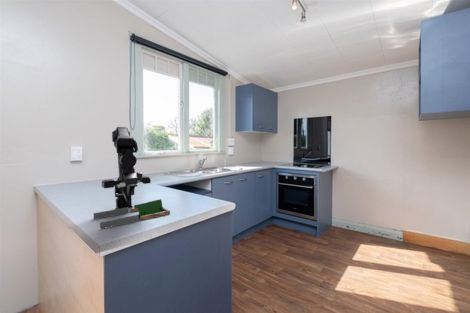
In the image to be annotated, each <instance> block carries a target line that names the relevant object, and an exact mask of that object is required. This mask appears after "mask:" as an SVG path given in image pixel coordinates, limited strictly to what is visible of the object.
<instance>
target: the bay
mask: <svg viewBox="0 0 470 313" xmlns="http://www.w3.org/2000/svg"><path fill="white" fill-rule="evenodd" d="M129 212H130V213H134V212H139V210H138V208H134V207H132V208H129ZM166 215H171V210H169V209H168V208H166V207H163V210H162V211H161V212H157V213H154V214H149V215H144V216H140V215H139V220H140V221H143V220H149V219H154V218H158V217H162V216H166Z"/></svg>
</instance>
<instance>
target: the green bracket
mask: <svg viewBox="0 0 470 313" xmlns="http://www.w3.org/2000/svg"><path fill="white" fill-rule="evenodd" d="M133 208H138V210H139V211H138V216H139V217H140V216H144V215H149V214H154V213H159V212H163V211H162V210H163V201H162V199H161V198H160V199H154V200H149V201H147V202H142V203H138V204H134V205H133Z"/></svg>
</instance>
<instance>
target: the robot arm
mask: <svg viewBox="0 0 470 313" xmlns="http://www.w3.org/2000/svg"><path fill="white" fill-rule="evenodd" d="M111 141H112V142H113V146H114V148H115V150H116V153H117V165H118V166H117V168H118V178H117V179H116V180H115V179H112V178H110V179H103V180H101V187H102V188H103V189H111V188H114V198H115V207H116V209H121V208H126V207H128V209H132V208H134V205H133V204H132V200H133V199H132V196H135V188H136V187H138V183H139V184H140V183H142V184H145V185H147V184H151V183H152V182H151V181H152V180H151V177H149V176H147V175H143V172H142V171H137V172H136V170H135V166H136V165H137V157H136V156H135V155H134V153H135V154H136V153H138V151H139V147H138V143H137V141H136V139H135V138H134V137H133V136H131V132H130V131H129V130H128V127H126V126H117V127H116V128H115V129H114V130H113V131H112V133H111Z"/></svg>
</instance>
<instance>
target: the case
mask: <svg viewBox="0 0 470 313" xmlns="http://www.w3.org/2000/svg"><path fill="white" fill-rule="evenodd" d="M129 212H130V211H129V208H128V207H126V208H121V209H118V208H115V209H110V210H104V211H99V212H98V211H97V212H93V214H92V215H93V220H98V219H102V218H108V217H113V216H118V215H119V216H120V215H124V214H128V213H129ZM139 220H140V218H139V214H133V215H128V216H123V217H118V218H114V219H113V218H112V219H109V220H104V221H99V228H103V229H106V228H105V227H108V228H112V227H118V226H120V225H125V224H129V223H134V222H139ZM111 226H112V227H111Z"/></svg>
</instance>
